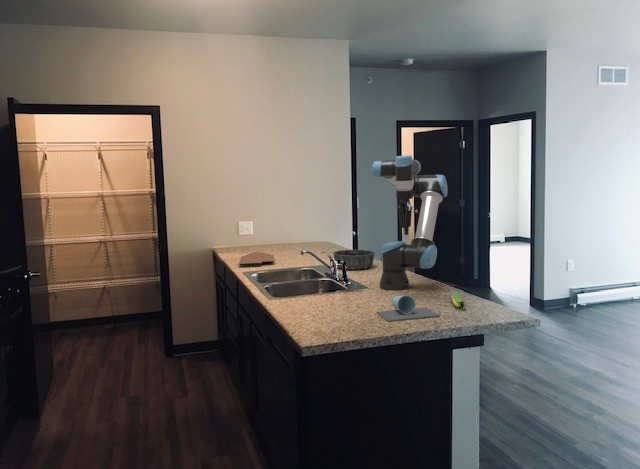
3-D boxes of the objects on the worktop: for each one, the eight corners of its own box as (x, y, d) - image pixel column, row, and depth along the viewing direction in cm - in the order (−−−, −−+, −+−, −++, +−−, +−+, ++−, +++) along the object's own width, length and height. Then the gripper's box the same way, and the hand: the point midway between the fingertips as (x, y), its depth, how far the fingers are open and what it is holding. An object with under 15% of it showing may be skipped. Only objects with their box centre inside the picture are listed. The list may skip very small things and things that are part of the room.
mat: (376, 313, 224) (376, 311, 224) (425, 308, 229) (425, 307, 229) (388, 321, 211) (388, 320, 211) (440, 316, 216) (440, 315, 215)
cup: (388, 310, 228) (396, 313, 218) (389, 292, 228) (398, 294, 218) (405, 312, 229) (414, 314, 219) (406, 294, 230) (416, 295, 220)
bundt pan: (375, 264, 347) (375, 248, 346) (375, 271, 321) (375, 255, 320) (334, 264, 349) (334, 249, 348) (331, 272, 323) (331, 255, 322)
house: (274, 259, 383) (273, 247, 382) (274, 266, 350) (274, 254, 349) (241, 260, 381) (241, 249, 380) (239, 268, 348) (238, 256, 347)
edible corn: (461, 291, 242) (451, 288, 242) (467, 303, 222) (456, 300, 223) (458, 301, 243) (448, 299, 243) (463, 314, 223) (452, 311, 224)
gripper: (391, 189, 249) (393, 240, 252) (401, 191, 236) (402, 244, 239) (407, 188, 250) (408, 239, 253) (417, 190, 238) (418, 242, 241)
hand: (405, 241), depth 246 cm, fingers closed
